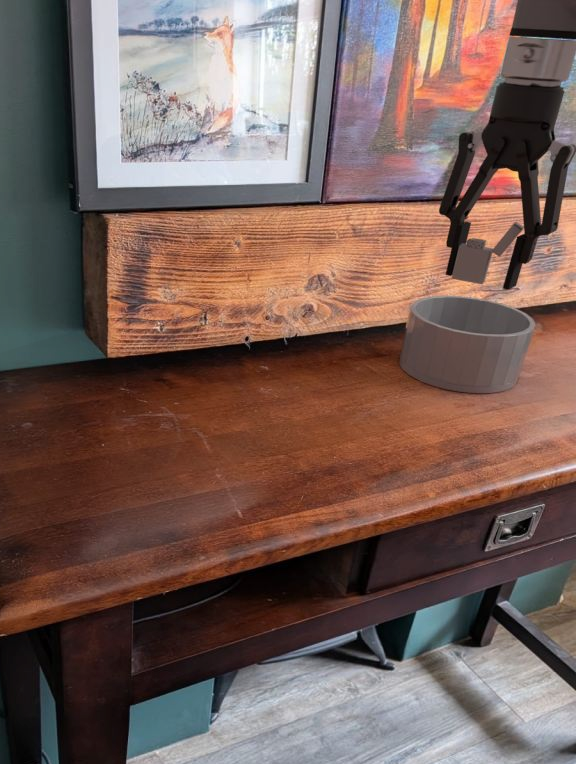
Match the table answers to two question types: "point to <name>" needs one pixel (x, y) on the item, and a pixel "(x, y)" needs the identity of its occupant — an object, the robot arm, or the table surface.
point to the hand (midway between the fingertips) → (480, 279)
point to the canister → (465, 343)
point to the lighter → (480, 256)
